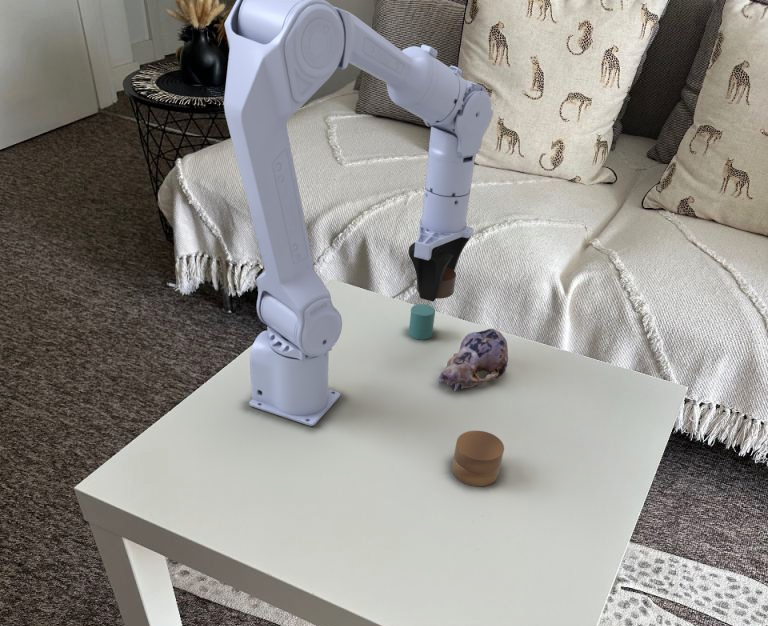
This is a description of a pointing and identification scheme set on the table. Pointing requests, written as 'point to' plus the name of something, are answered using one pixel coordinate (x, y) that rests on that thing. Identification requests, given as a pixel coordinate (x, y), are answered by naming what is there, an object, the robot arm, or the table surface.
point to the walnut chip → (446, 284)
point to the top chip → (479, 451)
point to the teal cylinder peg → (421, 321)
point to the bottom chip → (474, 476)
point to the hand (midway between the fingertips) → (434, 290)
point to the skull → (477, 359)
